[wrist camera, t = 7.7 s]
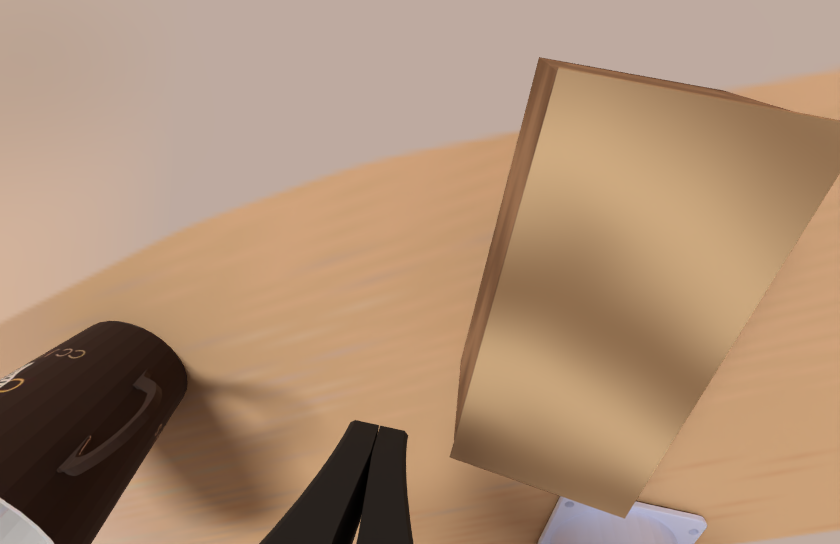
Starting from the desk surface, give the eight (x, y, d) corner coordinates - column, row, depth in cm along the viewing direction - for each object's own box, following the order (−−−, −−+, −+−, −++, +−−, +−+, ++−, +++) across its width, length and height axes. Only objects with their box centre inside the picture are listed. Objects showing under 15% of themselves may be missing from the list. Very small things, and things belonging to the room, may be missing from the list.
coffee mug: (100, 419, 29) (-66, 588, 21) (34, 304, 25) (-207, 453, 17) (271, 425, 27) (168, 614, 19) (229, 302, 23) (73, 469, 15)
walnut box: (587, 387, 23) (610, 474, 18) (460, 361, 23) (453, 439, 19) (722, 90, 16) (809, 116, 12) (539, 57, 16) (556, 70, 12)
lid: (623, 504, 17) (624, 518, 17) (452, 445, 19) (449, 457, 18) (853, 123, 10) (867, 127, 10) (559, 67, 12) (558, 68, 11)
